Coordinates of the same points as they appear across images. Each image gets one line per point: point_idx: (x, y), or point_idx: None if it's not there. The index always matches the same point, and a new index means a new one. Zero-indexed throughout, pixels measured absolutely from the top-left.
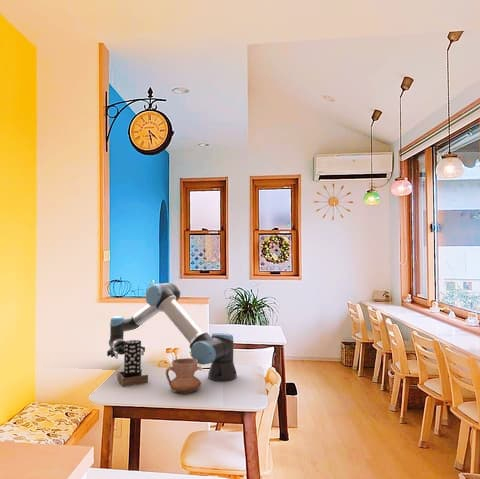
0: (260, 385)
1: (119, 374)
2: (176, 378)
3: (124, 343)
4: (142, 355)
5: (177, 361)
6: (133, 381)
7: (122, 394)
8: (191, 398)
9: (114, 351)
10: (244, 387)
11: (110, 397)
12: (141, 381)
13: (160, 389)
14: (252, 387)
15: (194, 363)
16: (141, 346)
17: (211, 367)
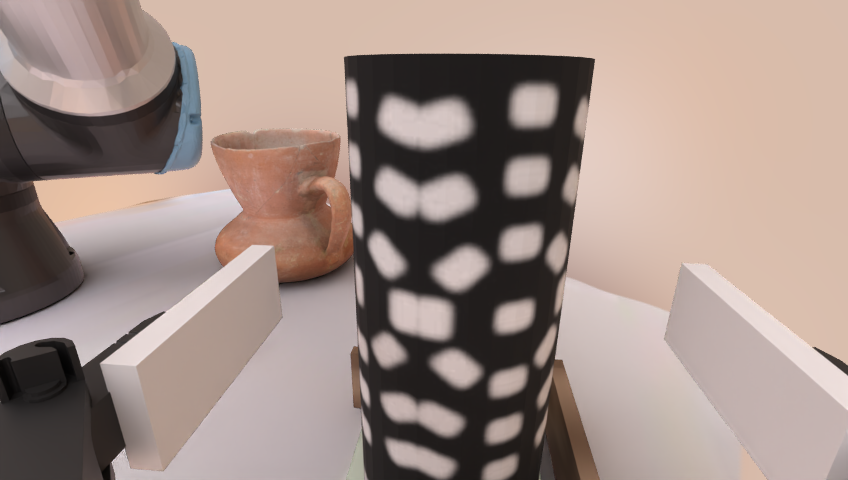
0: (79, 221)
1: (596, 475)
2: (328, 212)
3: (591, 80)
4: (279, 316)
5: (274, 159)
6: None
7: (566, 324)
8: None
9: (823, 363)
10: (129, 226)
11: (630, 319)
12: None
13: None
14: (116, 221)
15: (276, 132)
16: (23, 352)
17: (24, 243)
